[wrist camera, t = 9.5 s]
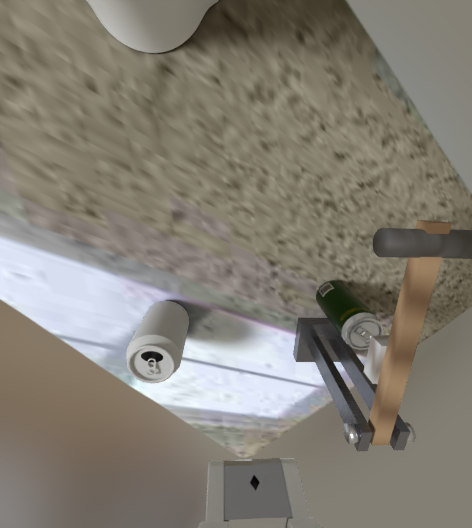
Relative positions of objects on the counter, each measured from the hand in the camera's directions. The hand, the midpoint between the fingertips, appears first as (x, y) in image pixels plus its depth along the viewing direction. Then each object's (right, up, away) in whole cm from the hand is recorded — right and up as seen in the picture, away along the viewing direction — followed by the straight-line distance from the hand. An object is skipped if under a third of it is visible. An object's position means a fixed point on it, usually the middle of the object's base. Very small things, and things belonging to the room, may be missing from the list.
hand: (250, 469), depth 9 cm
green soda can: (+16, +2, +37) cm, 40 cm away
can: (-12, -2, +37) cm, 39 cm away
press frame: (+16, -6, +39) cm, 43 cm away
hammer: (+17, -1, +21) cm, 27 cm away
